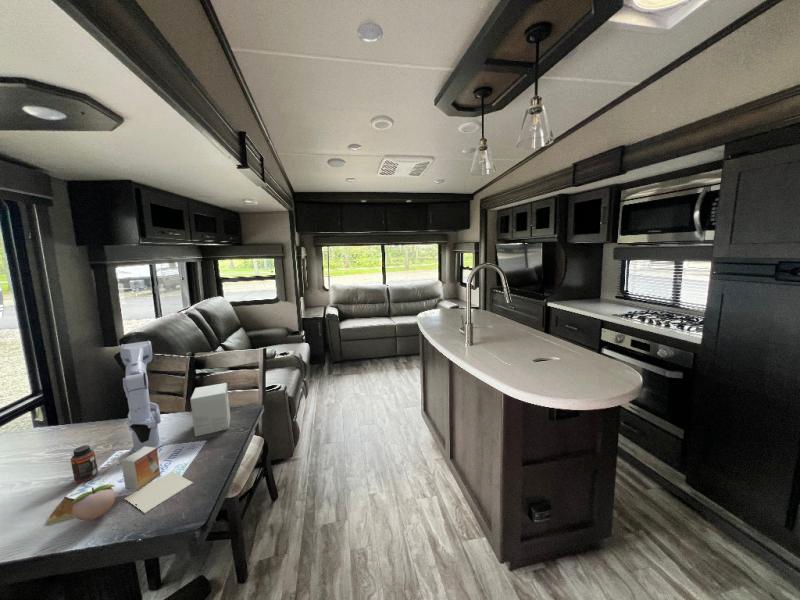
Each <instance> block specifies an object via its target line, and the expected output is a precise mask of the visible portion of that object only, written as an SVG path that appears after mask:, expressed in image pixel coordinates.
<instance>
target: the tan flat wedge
mask: <svg viewBox="0 0 800 600" xmlns="http://www.w3.org/2000/svg"><path fill="white" fill-rule="evenodd" d="M74 499H75V498H71V497H67V496H64V497H63V498H62V500H61V501H60V503H59V504H58V505H57V506H56V507H55V509H54V510H53V512H52V513H51V514H50V515H49V517H48V519H47V520H46V524H47V525H50V524H54V523H57V522H60V521H64V520H68V519H72V518H74V515H73V505H74V503H75V502H74V503H72V501H73V500H74ZM71 503H72V504H71Z"/></svg>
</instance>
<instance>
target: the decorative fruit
mask: <svg viewBox="0 0 800 600" xmlns="http://www.w3.org/2000/svg"><path fill="white" fill-rule="evenodd" d="M115 486H116V485H114V484H104V485H103V484H102V485H100V486H97V487H95V488H94V486H93V487H91V490H90V491H86V492H83V493H81V494H79V495H78V496H76V498H73V499H74V500H73V501H72V503H74V502H75V503H74V505H73V515H74V517H75V519H77V520H79V521H82V522H88V521H92V520H95V519H98V518H100V517H101V516H103V515H104V514H106V513H107V512H108V511H109V510H110V509H112V506H113V504H114V503H115V499H116V492H115V490H114V489H113V487H115ZM72 503H71V504H72ZM74 517H73V518H74Z"/></svg>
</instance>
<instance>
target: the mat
mask: <svg viewBox="0 0 800 600" xmlns="http://www.w3.org/2000/svg"><path fill="white" fill-rule="evenodd" d="M192 484H194V482H193V481H191V480H189V479H187V478H185V477H183V476H182V475H180V474H179V473H176V472H174V471H170V472H168V473H166V474H164V475H162V476H161V477H159V478H157V479H156V480H154V481H152V482H149V483H148V484H146V485H145V486H143V487H142V488H141V489H139V491H138V490H135V491H134V492H133V493H135V494H133V493H131V494H132V495H131V494H129V495H127V496H126V497H124V498H123V500H125V501H126V500H127V501H128V503H129V502H130V503H131V504H130V503H129V504H130V505H132V504H133V505H134V506H133V505H132V506H133V507H135V506H136V505H135V504H137V506H136V507H137V508H138V510H139V509H140V510H141V511H140V510H139V511H140V512H142V513H143V514H147V513H148V512H150V511H151V509H152V510H153V509H155V508H157V507H158V506H160V505H161V504H163V503H164V502H166V501H168V500H169V499H171V498H173V496H175V495H177V494H179V493H180V492H182V491H184V490H185V489H186V488H189V486H191V485H192ZM127 501H126V502H127ZM162 502H163V503H162ZM159 504H160V505H159ZM157 505H158V506H157ZM136 507H135V508H136ZM137 508H136V509H137Z"/></svg>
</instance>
